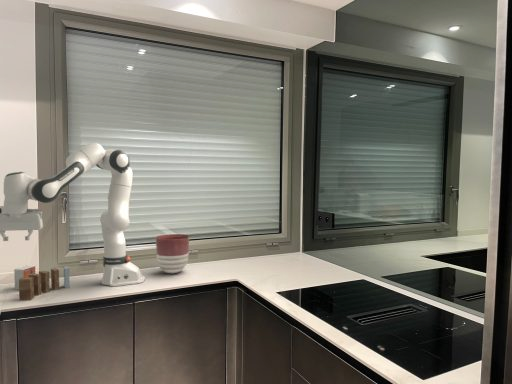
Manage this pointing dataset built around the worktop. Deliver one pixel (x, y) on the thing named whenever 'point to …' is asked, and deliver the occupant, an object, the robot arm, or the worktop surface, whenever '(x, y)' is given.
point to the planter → (172, 252)
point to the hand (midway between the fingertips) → (16, 240)
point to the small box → (22, 274)
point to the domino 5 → (66, 277)
